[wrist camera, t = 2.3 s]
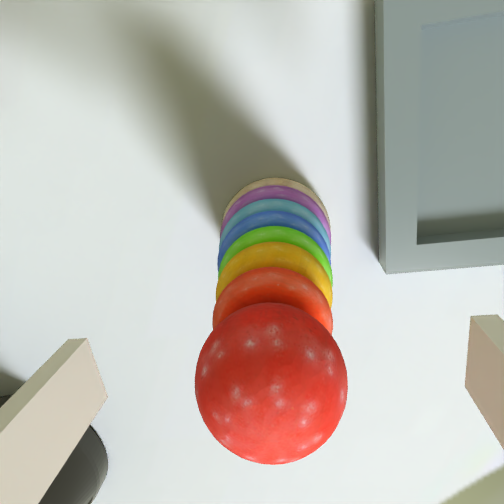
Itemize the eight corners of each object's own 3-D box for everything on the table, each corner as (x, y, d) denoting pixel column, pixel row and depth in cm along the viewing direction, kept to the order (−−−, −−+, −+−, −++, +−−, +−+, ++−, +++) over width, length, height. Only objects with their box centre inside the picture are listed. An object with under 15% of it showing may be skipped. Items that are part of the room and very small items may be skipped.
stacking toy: (230, 278, 29) (142, 524, 12) (218, 179, 26) (77, 310, 9) (329, 274, 28) (394, 536, 11) (327, 171, 25) (411, 298, 8)
